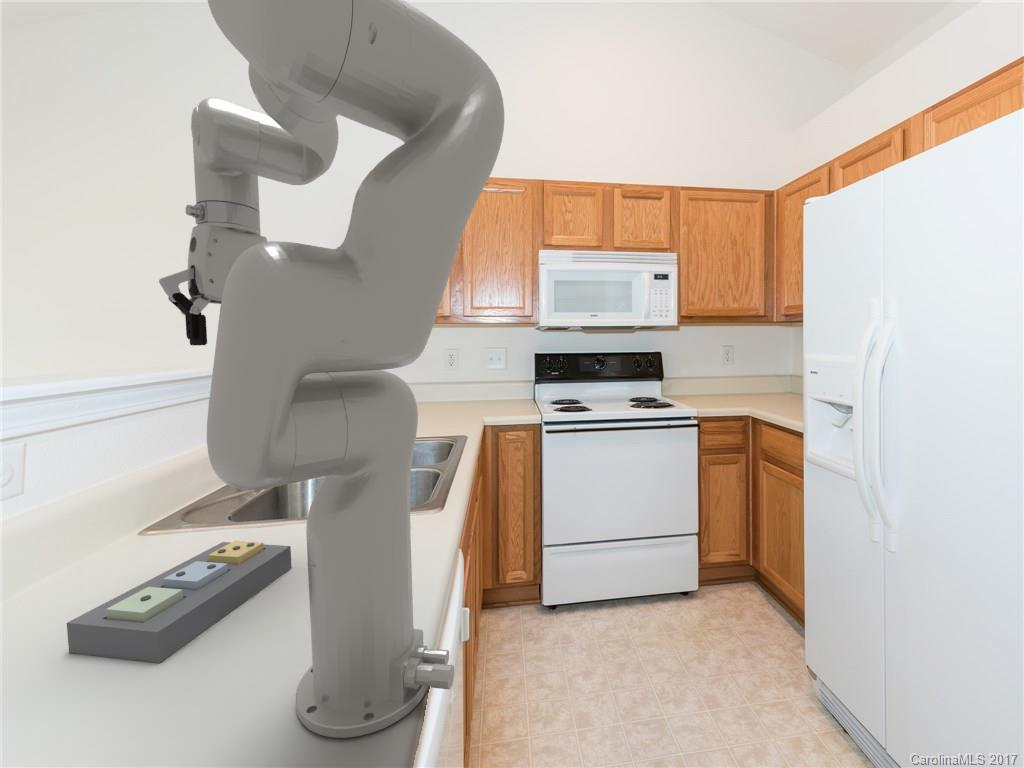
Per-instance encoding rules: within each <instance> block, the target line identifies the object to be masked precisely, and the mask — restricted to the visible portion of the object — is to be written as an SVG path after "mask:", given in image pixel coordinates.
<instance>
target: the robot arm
mask: <svg viewBox="0 0 1024 768" xmlns="http://www.w3.org/2000/svg"><path fill="white" fill-rule="evenodd" d="M207 3H208V7H209V10H210V13H211V15H212V17H213V19H214V21H215V24H216V25H217V27H218V28H219V29H220V31H221V33H222V34H223V36H224V37H225V38H226V39H227V40H228V42H229V43H230V44H231V45H232V46H233V48H234V49H236V50H237V51H238V52H239V53H240V55H241V56H242V57H243V58H244V59H245V60H246V61H247V62H248V70H247V72H248V80H249V83H250V84H249V85H250V87H251V90H252V93H253V96H254V97H255V99H256V101H257V102H258V104H259V106H260V107H261V109H262V110H263V111H264V112H265V113H266V114H265V113H261V112H259V111H256V110H251V109H248V108H246V107H243V106H240V105H237V104H235V103H232V102H229V101H227V100H223V99H220V98H214V97H213V98H212V97H208V98H204V99H203V100H201V101H200V102H199V104H198V105H197V106H195V107H194V108H193V109H192V112H191V120H190V121H191V123H190V129H191V136H192V150H193V169H194V185H195V187H194V189H195V204H194V205H192V204H186V206H185V214H186V215H187V216H190V217H192V218H194V219H195V226H193V227H192V229H191V235H190V240H189V246H188V255H187V256H188V257H187V269H184V270H181V271H178V272H175V273H172V274H169V275H167V276H164V277H161V278H159V280H158V282H159V284H160V286H161V288H162V289H163V291H164V293H165V294H166V295H167V298H168V301H170V302H171V303H172V304H173V305H174V306H175V307H176V308H177V309H178V310H179V311H180V313H181V314H182V315H183V316H185V332H186V333H185V334H186V338H187V339H188V340H189V345H190V346H206V345H207V344H208V336H207V332H208V331H207V320H206V319H207V317H206V316H205V314H202V311H203V310H204V309H205V308H206V307H207V306H208V305H209V304H215V305H216V304H217V305H220V307H219V314H218V315H219V316H218V324H217V325H218V326H217V331H216V334H217V335H216V341H215V348H214V359H213V367H212V374H211V375H212V376H211V383H210V389H209V390H210V391H209V400H208V407H207V408H208V409H207V419H206V420H207V421H206V444H207V454H208V458H209V461H210V462H209V463H210V464H211V467H212V469H213V471H214V473H215V475H216V476H217V477H218V478H219V479H220V481H222V482H223V483H224V484H225V485H227V486H229V487H232V488H234V489H238V490H243V491H256V490H257V491H258V490H264V489H271V488H276V487H280V486H285V485H290V484H295V483H299V482H304V481H308V480H313V479H318V478H322V477H324V478H323V479H322V481H321V484H320V485H319V487H318V489H317V491H316V493H315V494H314V497H313V498H312V499H313V500H312V501H311V504H310V506H309V510H308V514H307V519H306V527H305V529H306V530H305V532H306V552H307V553H306V554H307V556H306V558H307V572H308V573H307V575H308V596H309V598H308V599H309V614H310V615H309V617H310V618H309V619H310V620H309V621H310V637H311V660H312V665H311V666H310V667H309V668H308V670H307V671H306V672H304V674H303V676H302V677H301V679H300V682H299V684H298V686H297V689H296V692H295V707H296V708H295V709H296V714H297V715H296V716H297V717H298V718H299V720H300V722H301V724H303V726H304V727H306V728H307V729H308V730H310V731H311V732H313V733H315V734H317V735H320V736H325V737H329V738H338V739H339V738H340V739H341V738H342V739H346V738H355V737H362V736H365V735H368V734H373V733H375V732H378V731H381V730H383V729H386V728H388V727H389V726H391V725H393V724H394V723H396V722H398V721H400V720H401V719H403V718H404V717H405V716H407V714H410V712H412V710H413V709H414V708H415V707H416V706H417V705H418V704H420V702H421V700H422V699H423V698H424V696H425V694H426V693H427V690H428V688H429V687H430V688H431V689H432V688H434V689H443V690H451V688H452V686H453V683H454V677H455V666H454V665H453V664H449V660H450V650H448V649H439V648H436V649H431V648H428V646H427V645H424V630H423V629H419V628H417V629H416V628H414V605H413V604H414V603H413V600H414V599H413V598H414V597H413V574H412V573H413V571H412V570H413V569H412V568H413V567H412V544H411V543H412V539H411V537H412V536H411V526H412V525H411V475H412V463H413V456H414V451H415V446H416V445H415V444H416V440H417V439H416V438H417V433H418V432H417V431H418V421H419V419H418V418H419V417H418V416H419V413H418V412H419V411H418V405H417V401H416V398H415V395H414V393H413V391H412V389H411V388H410V386H409V385H408V383H407V382H406V381H405V380H403V379H402V378H401V377H400V376H398V375H396V374H394V373H392V372H389V371H386V370H393V369H399V368H403V367H406V366H409V365H411V364H412V363H414V362H415V361H416V360H417V359H418V358H419V357H420V356H421V355H422V353H423V352H424V350H425V348H426V345H427V344H428V341H429V339H430V336H431V333H432V330H433V327H434V324H435V321H436V318H437V316H438V315H437V314H438V313H439V312H438V311H439V308H440V306H441V303H442V300H443V296H444V294H445V290H446V287H447V285H448V281H449V278H450V275H451V272H452V269H453V266H454V263H455V260H456V256H457V252H458V250H459V249H458V248H459V246H460V242H461V239H462V237H463V233H464V231H465V228H466V225H467V223H468V221H469V219H470V216H471V214H472V213H473V210H474V208H475V206H476V204H477V202H478V201H479V197H480V196H481V194H482V192H483V191H484V188H485V186H486V184H487V183H488V180H489V178H490V177H491V174H492V171H493V170H494V167H495V164H496V162H497V159H498V156H499V153H500V150H501V147H502V145H501V144H502V142H503V137H504V130H505V108H504V107H505V106H504V99H503V98H504V97H503V94H502V90H501V87H500V84H499V81H498V80H497V78H496V76H495V74H494V73H493V70H492V69H491V68H490V67H489V65H488V64H487V63H486V61H484V60H483V59H482V57H481V56H480V55H479V54H478V53H477V52H476V51H475V50H474V49H473V48H472V47H470V46H469V45H468V44H467V43H465V42H464V40H462V39H461V38H460V37H458V36H457V35H455V34H454V33H453V32H452V31H451V30H449V29H447V28H446V27H445V26H443V25H442V24H441V23H439V22H437V21H436V20H435V19H434V18H432V17H430V16H429V15H428V14H427V13H425V12H423V11H422V10H420V9H419V8H417V7H415V6H414V5H412V4H411V3H409V2H407V1H406V0H207ZM338 116H341V117H343V118H345V119H349V120H351V121H354V122H356V123H358V124H361V125H362V126H366V127H369V128H372V129H374V130H377V131H380V132H383V133H385V134H387V135H389V136H393V137H395V138H397V139H399V140H400V141H402V142H403V144H401V145H400V146H398V147H397V148H395V149H393V151H391V152H389V154H386V156H385V157H384V158H383V159H381V160H380V161H379V162H378V163H377V164H376V165H375V167H374V168H372V169H371V170H370V171H369V172H368V173H367V175H366V176H365V177H364V179H363V180H362V182H361V183H360V184H359V187H358V189H357V190H356V193H355V196H354V199H353V204H352V209H351V214H350V215H351V216H350V220H349V224H348V228H347V232H346V234H345V237H344V240H343V242H342V243H341V244H340V246H338V247H336V248H330V247H329V248H328V247H323V246H316V245H311V244H304V243H298V242H292V241H280V240H279V241H273V240H271V241H268V238H267V237H266V236H263V235H261V215H260V213H261V212H260V195H259V193H260V192H259V177H262V178H263V179H264V178H265V179H268V180H272V181H276V182H280V183H282V184H287V185H291V186H304V185H308V184H310V183H312V182H314V181H316V180H317V179H319V177H322V176H323V175H324V174H325V173H327V171H329V170H330V168H331V167H332V164H333V162H334V159H335V157H336V154H337V150H338V145H339V126H338V122H337V117H338ZM185 282H187V289H188V294H189V296H190V298H188V297H187V296H186V295H185V294H183V293H182V292H181V289H180V287H179V285H180V284H182V283H185Z"/></svg>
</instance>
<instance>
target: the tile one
mask: <svg viewBox="0 0 1024 768" xmlns="http://www.w3.org/2000/svg"><path fill="white" fill-rule="evenodd" d="M182 599H183V590H181V589H169V588H157V587H147V588H145V589H143V590H141V591H139V592H137V593H136V594H134V595H132V596H130V597H128V598H126V599H124V600H122V601H121V602H119V603H117V604H115V605H113V606H111V607H109V608H107V609H106V615H107V620H118V621H128V622H138V623H144V622H146V621H148V620H149V619H151V618H153V617H154V616H156V615H158V614H159V613H161V612H162V611H164V610H166V609H167V608H169V607H171V606H172V605H174V604H176V603H177V602H179V601H181V600H182Z"/></svg>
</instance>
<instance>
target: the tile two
mask: <svg viewBox="0 0 1024 768" xmlns="http://www.w3.org/2000/svg"><path fill="white" fill-rule="evenodd" d="M227 572H228V564H227V563H213V562H199V561H196V562H194V563H192V564H190V565H188V566H186V567H185V568H183V569H181V570H179V571H177V572H175V573H173V574H171V575H169V576H168V577H166V578H164V579H163V585H164V588H173V589H185V590H199V589H200V588H202V587H204V586H205V585H207V584H209V583H210V582H212V581H214V580H215V579H217V578H218V577H220V576H222V575H223V574H225V573H227Z"/></svg>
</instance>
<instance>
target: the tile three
mask: <svg viewBox="0 0 1024 768" xmlns="http://www.w3.org/2000/svg"><path fill="white" fill-rule="evenodd" d="M231 542H232V543H230V544H228V545H226V546H224V547H222V548H220V549H218V550H217V551H215V552H213V553H211V554H209V555H208V562H213V563H227V564H233V565H240V564H242V563H243V562H245V561H246V560H248V559H250V558H251V557H253V556H255V555H256V554H258V553H260V552H261V551H263V550H264V545H263V544H264V542H262V541H245V540H244V541H243V540H242V541H241V540H234V541H233V540H232V541H231Z"/></svg>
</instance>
